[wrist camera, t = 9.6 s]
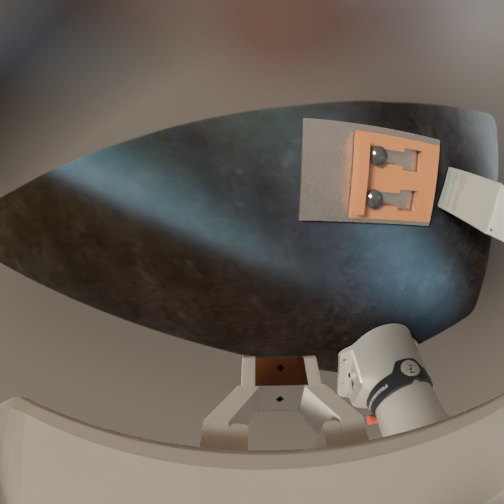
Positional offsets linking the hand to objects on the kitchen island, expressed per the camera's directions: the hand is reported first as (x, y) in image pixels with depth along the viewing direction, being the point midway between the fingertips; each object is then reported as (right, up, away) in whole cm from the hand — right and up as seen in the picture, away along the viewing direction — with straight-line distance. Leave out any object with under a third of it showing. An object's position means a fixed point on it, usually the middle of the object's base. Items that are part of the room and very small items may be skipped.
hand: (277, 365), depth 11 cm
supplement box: (+33, +15, +25) cm, 45 cm away
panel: (+19, +15, +24) cm, 34 cm away
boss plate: (+16, +16, +25) cm, 34 cm away
